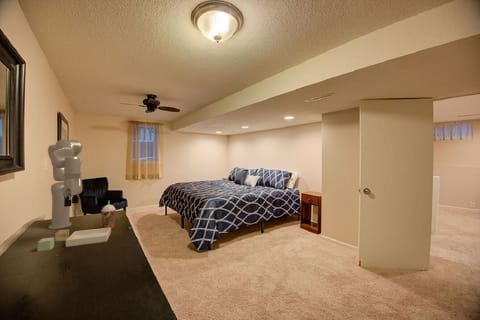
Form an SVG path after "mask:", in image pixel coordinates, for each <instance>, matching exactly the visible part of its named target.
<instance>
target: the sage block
mask: <svg viewBox="0 0 480 320" xmlns="http://www.w3.org/2000/svg"><path fill="white" fill-rule="evenodd" d="M54 247H55V236H54V237H47V238H46V237H45V238H41V239H40V240H39V241H37V252H45V251H51V250H52V249H53V248H54Z"/></svg>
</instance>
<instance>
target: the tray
mask: <svg viewBox="0 0 480 320" xmlns="http://www.w3.org/2000/svg"><path fill="white" fill-rule="evenodd" d="M111 233H112V230H111V228H102V227H101V228H95V229H93V228H92V229H85V230H75V231H74V232H72V234H70V235H69V238H68V239H67V240H65V247H67V248H68V247H74V246H82V245H90V244H98V243H104V242H107V241H108V240H109V237H110V235H111Z"/></svg>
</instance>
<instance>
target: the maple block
mask: <svg viewBox="0 0 480 320" xmlns="http://www.w3.org/2000/svg"><path fill="white" fill-rule="evenodd" d="M69 237H70V229H63V230H62V229H59V230H58V231H57V232H55V236H54V243H55V242H62V241H66V240H67V239H68V238H69Z"/></svg>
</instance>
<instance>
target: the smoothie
mask: <svg viewBox="0 0 480 320" xmlns="http://www.w3.org/2000/svg"><path fill="white" fill-rule="evenodd" d="M107 202H108V203H107V205H104V206H103V207H102V209H101V222H102V223H101V224H102V225H101V226H102V227H101V228H111V231H112V230H114V228H115V219H116V213H117V212H116V210H117V208H115V206H114V205H113V204H110V200H108V201H107Z"/></svg>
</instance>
